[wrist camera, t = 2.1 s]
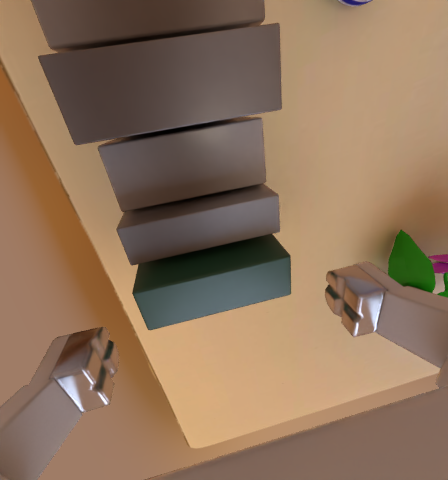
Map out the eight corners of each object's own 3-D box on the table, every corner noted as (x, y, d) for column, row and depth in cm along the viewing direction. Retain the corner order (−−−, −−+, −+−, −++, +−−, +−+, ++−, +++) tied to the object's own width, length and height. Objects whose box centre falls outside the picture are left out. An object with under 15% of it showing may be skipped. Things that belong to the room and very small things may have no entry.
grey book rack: (209, 13, 15) (299, -231, 5) (235, 210, 22) (297, 303, 11) (97, 28, 15) (-115, -220, 4) (158, 226, 21) (144, 343, 10)
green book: (227, 180, 20) (291, 255, 9) (230, 203, 20) (291, 294, 10) (153, 194, 19) (131, 293, 8) (160, 217, 20) (147, 331, 9)
